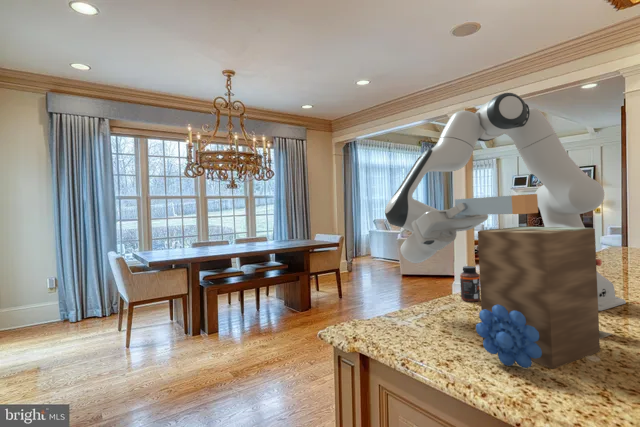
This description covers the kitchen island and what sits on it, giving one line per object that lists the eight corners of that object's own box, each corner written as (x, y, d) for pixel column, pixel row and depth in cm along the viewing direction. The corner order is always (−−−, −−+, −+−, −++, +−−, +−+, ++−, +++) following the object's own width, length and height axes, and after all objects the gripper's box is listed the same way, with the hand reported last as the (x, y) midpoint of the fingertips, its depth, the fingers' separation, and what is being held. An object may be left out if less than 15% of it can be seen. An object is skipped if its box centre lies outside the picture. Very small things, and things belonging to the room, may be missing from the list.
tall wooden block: (482, 342, 82) (477, 230, 82) (527, 329, 89) (523, 226, 89) (552, 368, 68) (546, 232, 68) (600, 351, 74) (594, 227, 74)
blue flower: (471, 367, 70) (468, 306, 70) (480, 355, 75) (477, 299, 75) (540, 382, 63) (537, 315, 63) (544, 367, 68) (541, 306, 68)
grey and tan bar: (455, 214, 90) (454, 199, 90) (467, 213, 92) (466, 198, 92) (525, 213, 73) (524, 194, 73) (538, 212, 75) (537, 193, 75)
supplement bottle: (482, 302, 116) (480, 268, 116) (463, 302, 117) (461, 268, 117) (477, 298, 122) (476, 265, 122) (459, 297, 123) (458, 265, 123)
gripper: (471, 237, 102) (507, 212, 91) (415, 244, 93) (447, 218, 82) (461, 218, 104) (495, 192, 94) (406, 223, 96) (436, 195, 85)
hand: (472, 204), depth 88 cm, fingers closed on grey and tan bar, 4 cm apart
